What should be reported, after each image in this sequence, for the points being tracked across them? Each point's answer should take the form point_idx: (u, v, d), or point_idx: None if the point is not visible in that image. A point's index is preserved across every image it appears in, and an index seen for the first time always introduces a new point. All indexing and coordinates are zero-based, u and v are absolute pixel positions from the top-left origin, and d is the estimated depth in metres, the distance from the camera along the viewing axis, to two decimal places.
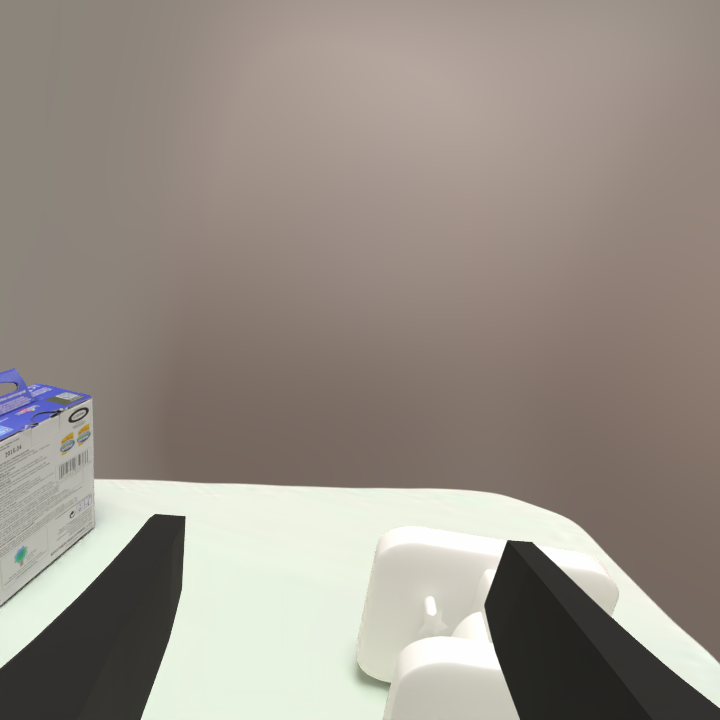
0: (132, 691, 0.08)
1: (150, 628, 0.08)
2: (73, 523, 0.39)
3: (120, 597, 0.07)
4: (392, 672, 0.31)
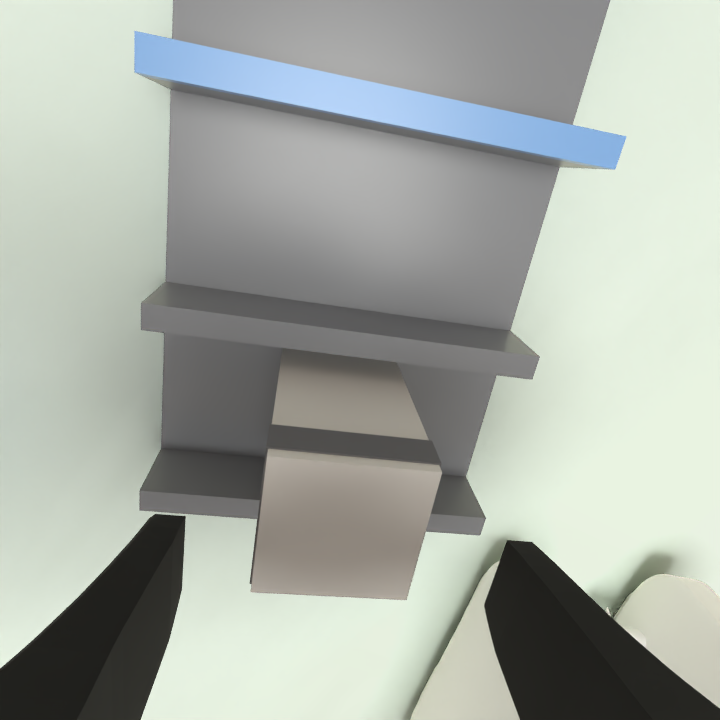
0: (132, 691, 0.08)
1: (150, 628, 0.08)
2: None
3: (120, 597, 0.07)
4: (644, 610, 0.23)
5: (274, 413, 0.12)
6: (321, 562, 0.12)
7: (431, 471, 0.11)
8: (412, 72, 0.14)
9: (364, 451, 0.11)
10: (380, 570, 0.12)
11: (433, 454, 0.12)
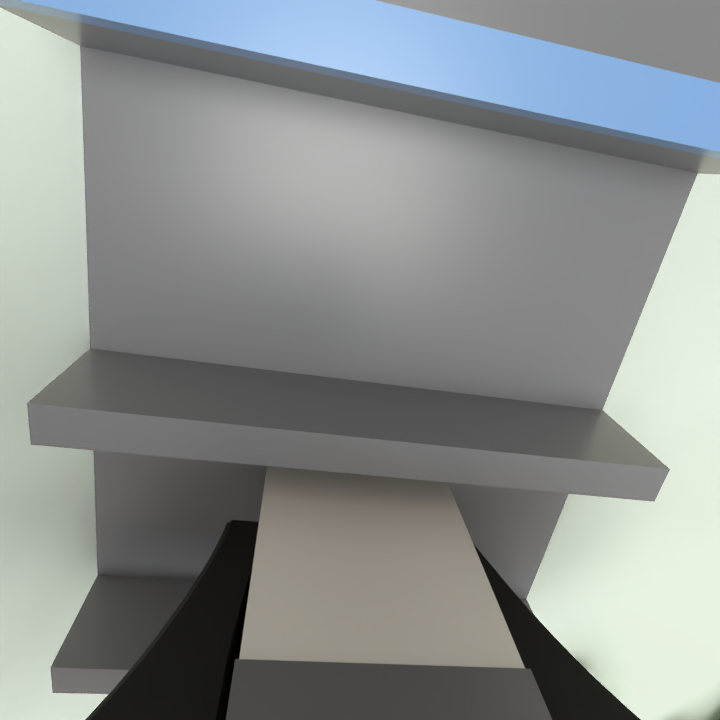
0: (228, 693, 0.08)
1: (241, 632, 0.09)
2: None
3: (222, 602, 0.08)
4: None
5: (247, 619, 0.07)
6: None
7: None
8: (478, 19, 0.09)
9: None
10: None
11: (542, 716, 0.06)
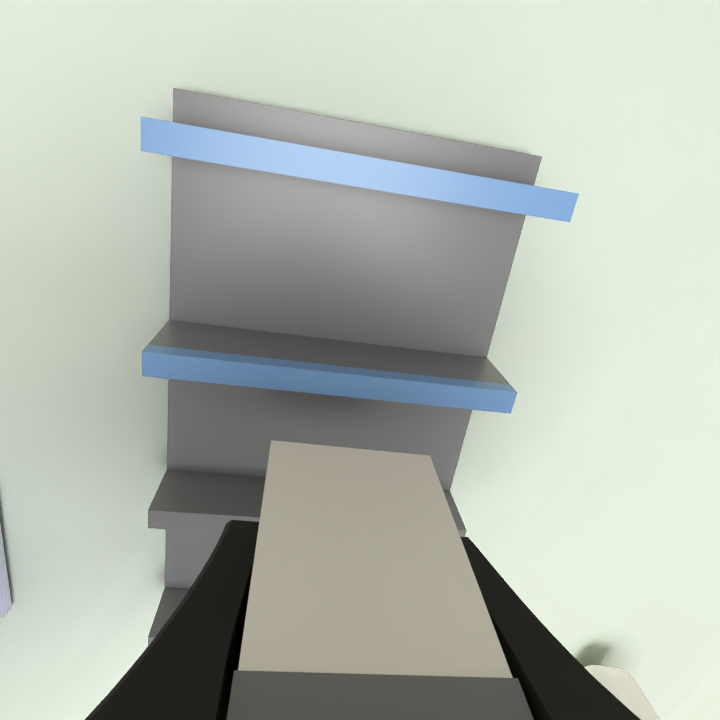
0: (227, 693, 0.08)
1: (240, 632, 0.09)
2: None
3: (221, 602, 0.08)
4: None
5: (245, 630, 0.07)
6: None
7: None
8: (358, 319, 0.18)
9: None
10: None
11: None
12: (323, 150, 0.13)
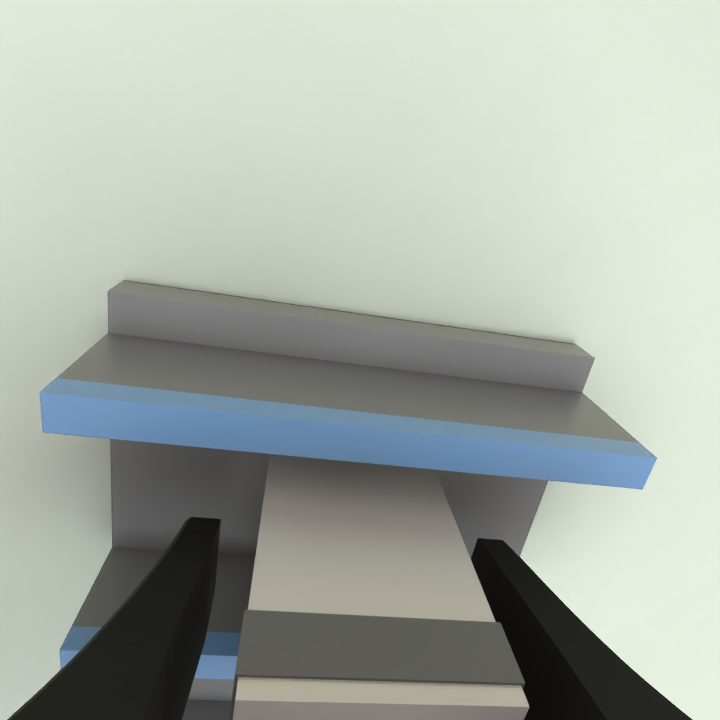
0: (177, 692, 0.08)
1: (193, 630, 0.08)
2: None
3: (168, 599, 0.08)
4: None
5: (254, 578, 0.08)
6: None
7: (511, 704, 0.07)
8: None
9: (399, 664, 0.07)
10: None
11: (508, 659, 0.07)
12: (305, 423, 0.09)
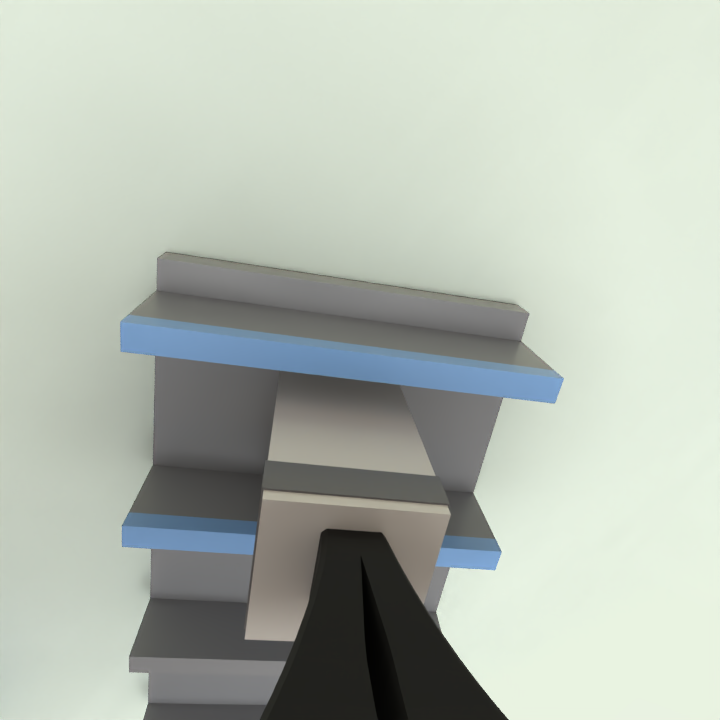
0: None
1: None
2: None
3: (345, 608, 0.08)
4: None
5: (270, 447, 0.12)
6: None
7: (439, 512, 0.10)
8: None
9: (367, 491, 0.11)
10: None
11: (440, 493, 0.11)
12: (305, 347, 0.13)
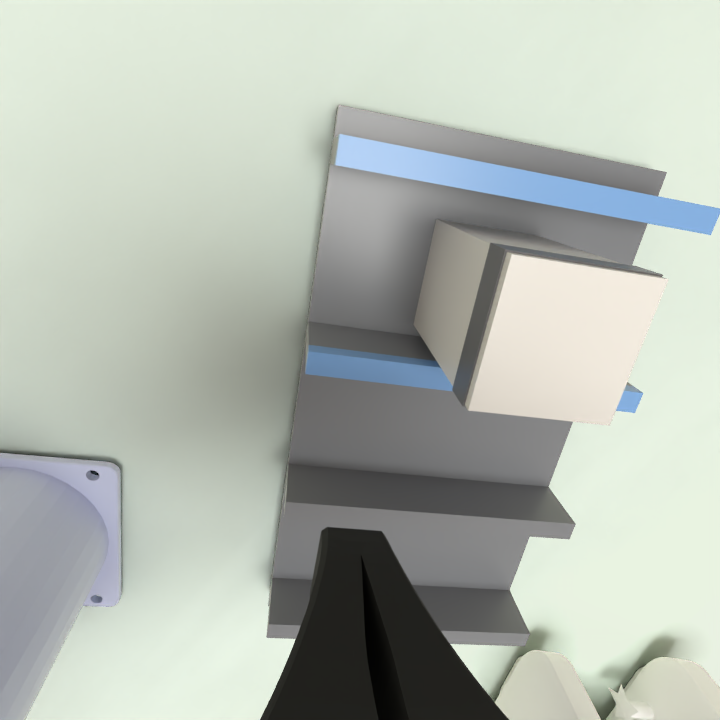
0: None
1: None
2: None
3: (346, 608, 0.08)
4: (652, 687, 0.28)
5: (484, 241, 0.13)
6: (539, 378, 0.12)
7: (658, 277, 0.12)
8: None
9: (589, 262, 0.12)
10: (591, 390, 0.13)
11: (649, 271, 0.12)
12: (498, 166, 0.14)
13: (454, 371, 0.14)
